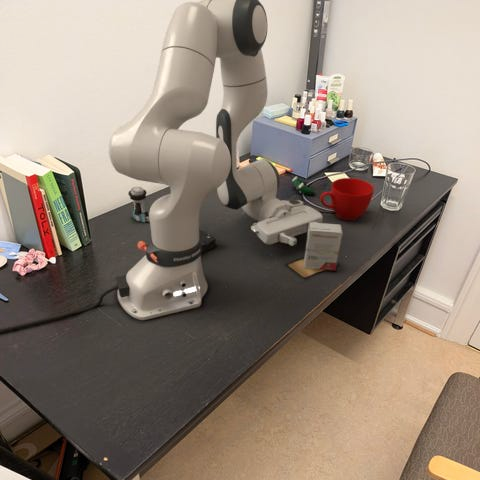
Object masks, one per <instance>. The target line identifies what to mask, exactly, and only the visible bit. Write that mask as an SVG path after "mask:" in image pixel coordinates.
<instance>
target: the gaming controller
mask: <svg viewBox="0 0 480 480" xmlns="http://www.w3.org/2000/svg"><path fill="white" fill-rule="evenodd" d="M291 183H292V184H293V185H294V186H295V189H296V190H298V192H299V193H300V194H304V195H308V196H315V190H314V189H313V188H312V187H308V186H306V185H307V182H306V181H305V180H303V179H300V178H299V177H298V176H297V175H296V176H295V177H294V178H293V179H291Z"/></svg>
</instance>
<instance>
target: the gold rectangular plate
mask: <svg viewBox="0 0 480 480" xmlns="http://www.w3.org/2000/svg"><path fill="white" fill-rule="evenodd" d="M337 265H338V263H337V264H336V266H337ZM287 266H288V267H289V268H290V269H292V270H293V271H295V272H296V274H298V275H299V276H301V277H303V279H306V278H308V277H311V276H314V275H316V274H318V273H321V272H323V271H324V270H322V269H309V268H304V258H302V259H299V260H297V261H294V262H291V263H289V264H287Z"/></svg>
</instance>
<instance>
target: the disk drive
mask: <svg viewBox="0 0 480 480" xmlns="http://www.w3.org/2000/svg"><path fill="white" fill-rule="evenodd" d="M199 235H200V237H201V245H202V253H204V252H206V251H208V250H210V249H212V248H213V247H215V246H217V238H216V237H215V236H213V235H211V234H209V233H207V232H205V231H204V230H202V229H200V228H199Z"/></svg>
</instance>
